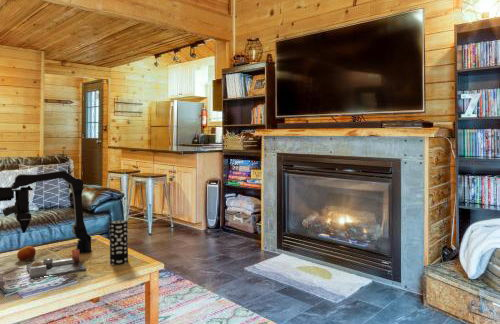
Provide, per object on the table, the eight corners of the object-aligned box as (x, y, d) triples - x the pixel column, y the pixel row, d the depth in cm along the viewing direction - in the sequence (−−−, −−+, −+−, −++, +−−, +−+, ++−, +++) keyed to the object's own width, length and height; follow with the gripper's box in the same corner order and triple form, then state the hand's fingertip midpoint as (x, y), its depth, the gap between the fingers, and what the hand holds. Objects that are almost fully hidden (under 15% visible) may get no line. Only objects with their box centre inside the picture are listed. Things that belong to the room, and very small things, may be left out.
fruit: (31, 260, 190) (23, 245, 191) (19, 267, 192) (11, 253, 192) (42, 255, 198) (35, 241, 199) (31, 262, 200) (24, 248, 200)
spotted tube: (131, 261, 193) (131, 221, 192) (119, 266, 186) (118, 224, 185) (118, 259, 197) (118, 219, 196) (106, 263, 189) (105, 222, 188)
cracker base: (76, 258, 197) (76, 250, 197) (86, 270, 179) (85, 260, 179) (26, 266, 185) (26, 257, 185) (31, 279, 167) (30, 269, 167)
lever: (33, 269, 177) (33, 256, 177) (32, 266, 180) (32, 254, 180) (80, 261, 188) (80, 250, 188) (78, 259, 191) (78, 248, 191)
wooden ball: (43, 269, 177) (42, 258, 177) (44, 272, 173) (44, 261, 172) (30, 271, 174) (30, 260, 174) (31, 275, 170) (31, 263, 170)
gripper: (2, 198, 196) (3, 229, 197) (3, 203, 181) (4, 236, 182) (27, 197, 203) (28, 227, 203) (31, 201, 187) (31, 233, 188)
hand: (23, 231), depth 194 cm, fingers open, 9 cm apart
